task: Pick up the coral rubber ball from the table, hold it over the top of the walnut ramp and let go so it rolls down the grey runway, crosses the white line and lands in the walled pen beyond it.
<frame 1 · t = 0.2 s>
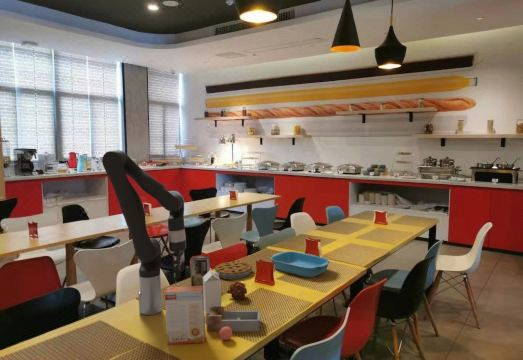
hand: (180, 274, 178), 17 cm above the table, tool pointing down, fingers open, 8 cm apart
pie: (233, 274, 229), on the table
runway: (241, 325, 165), on the table
milk carton: (212, 311, 180), on the table
ball: (226, 333, 154), point 2 cm above the table
casserole dish: (299, 270, 234), on the table
ramp: (217, 326, 165), on the table
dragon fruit: (237, 297, 195), on the table
cracker box: (186, 340, 154), on the table
coffee box: (201, 288, 208), on the table
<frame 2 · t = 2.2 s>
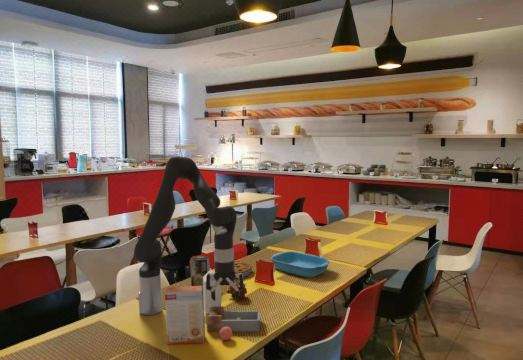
hand: (225, 299, 152), 16 cm above the table, tool pointing down, fingers open, 8 cm apart
nothing on the table moved.
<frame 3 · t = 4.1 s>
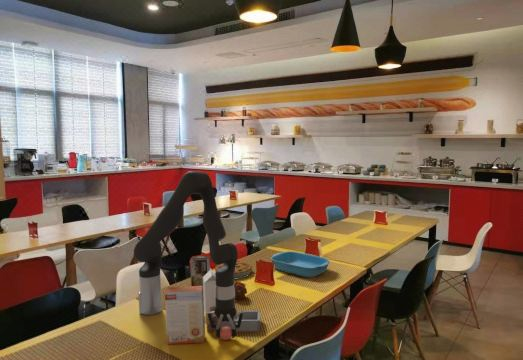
hand: (226, 337, 154), 1 cm above the table, tool pointing down, fingers closed on ball, 5 cm apart
ball: (226, 333, 154), point 2 cm above the table, touching gripper
everything else where it was.
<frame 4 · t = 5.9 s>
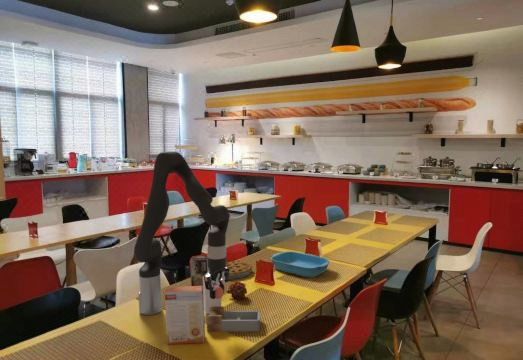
hand: (217, 296, 160), 14 cm above the table, tool pointing down, fingers closed on ball, 5 cm apart
ball: (217, 292, 160), point 16 cm above the table, touching gripper
everything else where it was.
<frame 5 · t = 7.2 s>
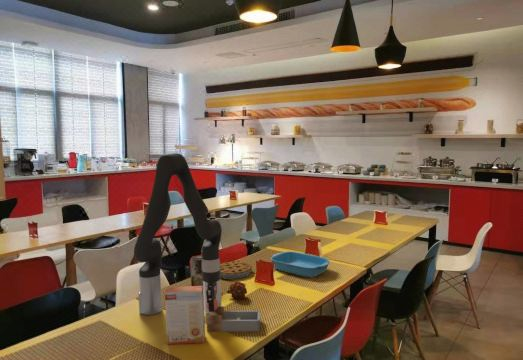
hand: (212, 308, 164), 8 cm above the table, tool pointing down, fingers closed on ball, 5 cm apart
ball: (212, 304, 164), point 9 cm above the table, touching gripper
everything else where it was.
when the fingers open (7 cm above the table, at t = 7.6 s): ball drops 6 cm and tips over, point 2 cm above the table.
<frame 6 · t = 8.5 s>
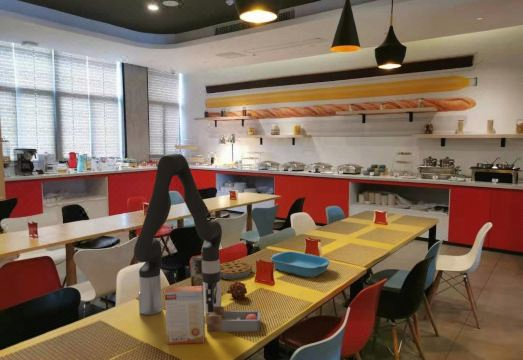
hand: (212, 307, 164), 8 cm above the table, tool pointing down, fingers open, 8 cm apart
ball: (251, 320, 164), point 2 cm above the table, tilted 147°
everything else where it was.
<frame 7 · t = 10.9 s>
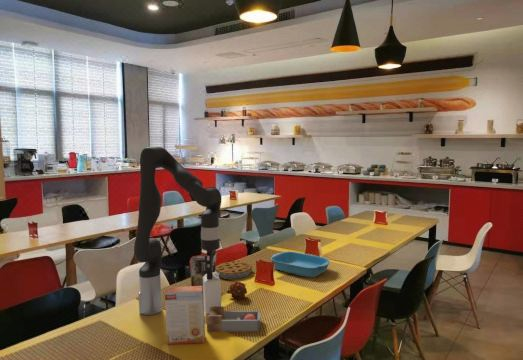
hand: (211, 275, 163), 22 cm above the table, tool pointing down, fingers open, 8 cm apart
ball: (250, 320, 164), point 2 cm above the table, tilted 133°
everything else where it was.
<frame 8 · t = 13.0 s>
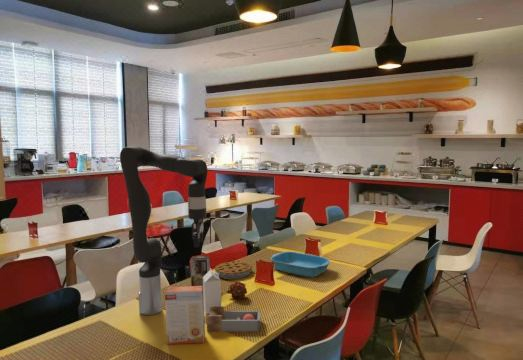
hand: (198, 244, 168), 33 cm above the table, tool pointing down, fingers open, 8 cm apart
ball: (248, 320, 164), point 2 cm above the table, tilted 120°
everything else where it was.
at the end: ball inside the target area (0.5 cm from its centre), point 2.5 cm above the table; the gripper is holding nothing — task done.
